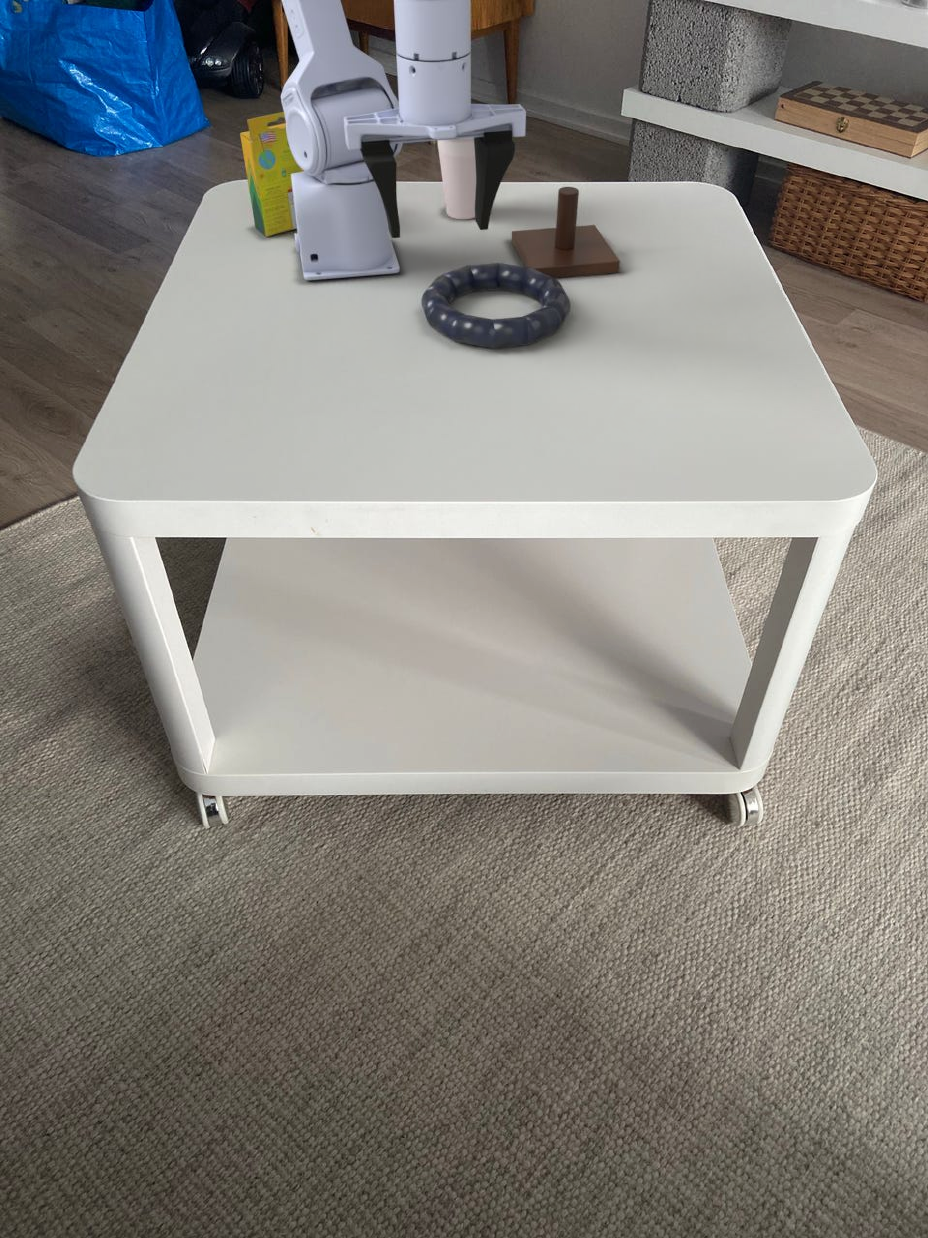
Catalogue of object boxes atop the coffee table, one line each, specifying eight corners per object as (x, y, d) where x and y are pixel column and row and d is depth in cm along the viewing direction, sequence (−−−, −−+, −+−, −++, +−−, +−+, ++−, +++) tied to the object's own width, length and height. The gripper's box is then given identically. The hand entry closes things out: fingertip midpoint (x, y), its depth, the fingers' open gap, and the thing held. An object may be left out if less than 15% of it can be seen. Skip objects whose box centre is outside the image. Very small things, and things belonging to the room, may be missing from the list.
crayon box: (315, 213, 107) (303, 98, 99) (327, 222, 105) (316, 106, 97) (253, 228, 104) (235, 110, 96) (264, 237, 103) (247, 119, 94)
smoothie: (436, 200, 110) (434, 62, 100) (493, 201, 110) (496, 63, 100) (432, 223, 105) (429, 81, 95) (491, 224, 105) (494, 82, 95)
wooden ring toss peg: (531, 280, 96) (534, 211, 91) (511, 242, 102) (513, 176, 97) (619, 272, 97) (627, 204, 92) (593, 235, 103) (600, 170, 98)
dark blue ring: (436, 358, 85) (436, 332, 83) (413, 289, 94) (412, 265, 93) (584, 344, 87) (586, 319, 85) (547, 277, 96) (549, 254, 94)
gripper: (345, 72, 71) (360, 255, 80) (538, 59, 73) (531, 239, 82) (334, 47, 76) (350, 222, 85) (515, 35, 78) (511, 208, 87)
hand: (438, 229), depth 84 cm, fingers open, 7 cm apart
